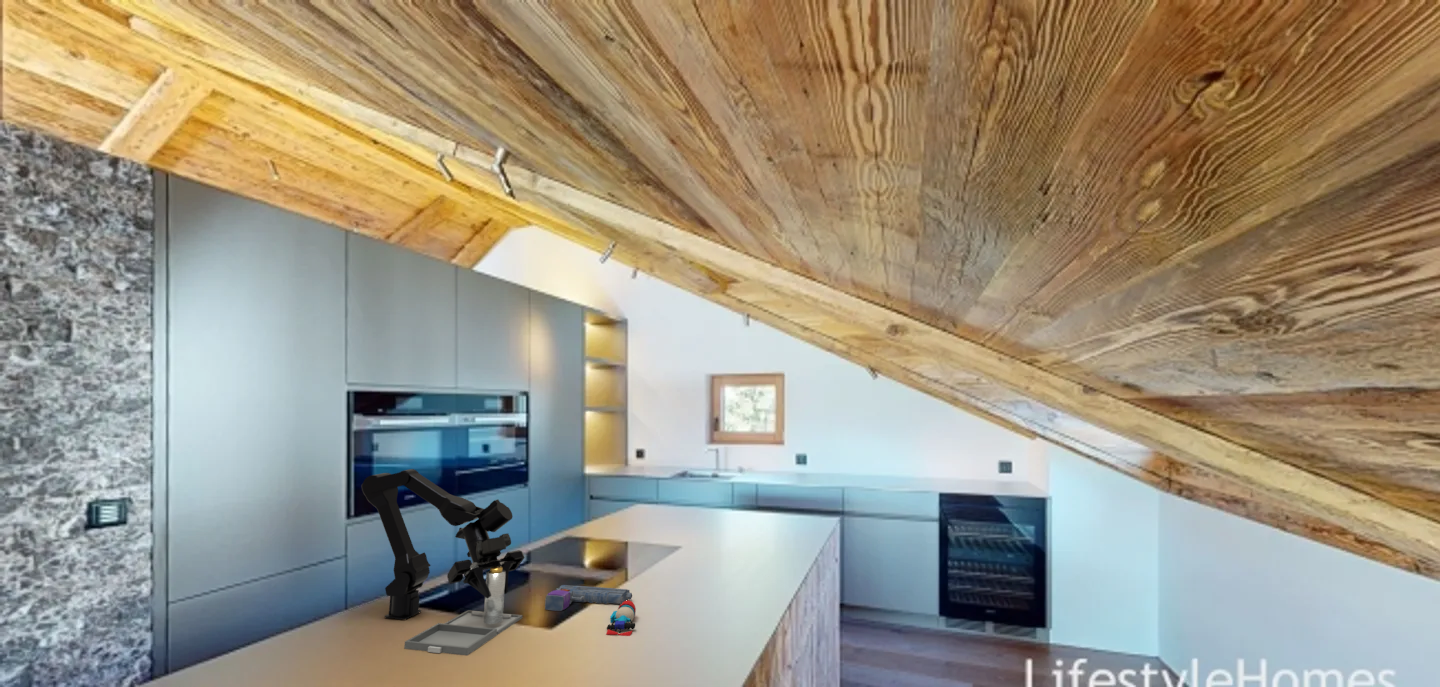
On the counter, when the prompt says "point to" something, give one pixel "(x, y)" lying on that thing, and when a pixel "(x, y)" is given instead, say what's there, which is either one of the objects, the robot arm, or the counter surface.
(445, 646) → the case
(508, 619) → the lid
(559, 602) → the toy gun
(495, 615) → the grey cylinder
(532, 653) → the counter surface
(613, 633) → the toy figure
